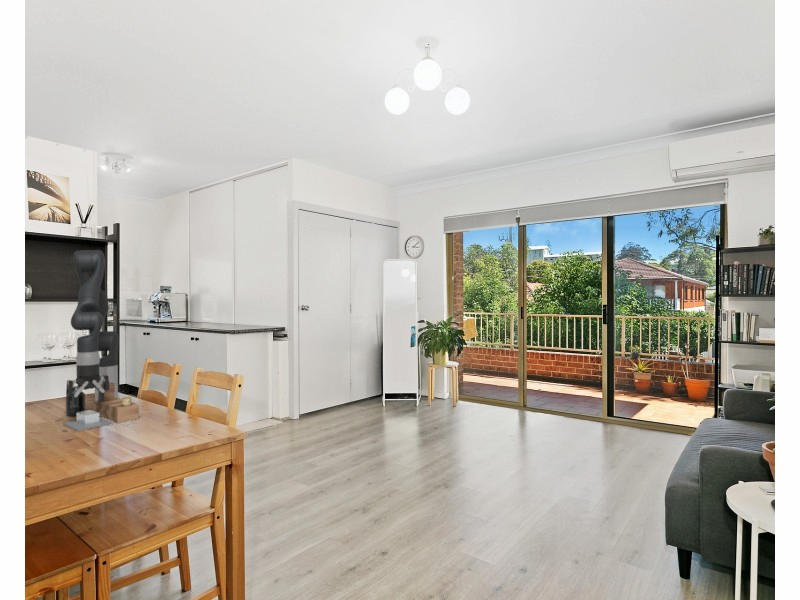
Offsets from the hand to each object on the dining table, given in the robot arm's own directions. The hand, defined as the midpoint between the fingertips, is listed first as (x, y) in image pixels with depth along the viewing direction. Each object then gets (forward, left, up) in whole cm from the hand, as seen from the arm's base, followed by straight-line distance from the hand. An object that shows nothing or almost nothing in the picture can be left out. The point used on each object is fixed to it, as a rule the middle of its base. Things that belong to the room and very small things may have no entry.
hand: (88, 404), depth 187 cm
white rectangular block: (0, 0, -7) cm, 7 cm away
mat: (0, 0, -8) cm, 8 cm away
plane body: (-3, +12, -8) cm, 14 cm away
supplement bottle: (-20, +3, -8) cm, 22 cm away
